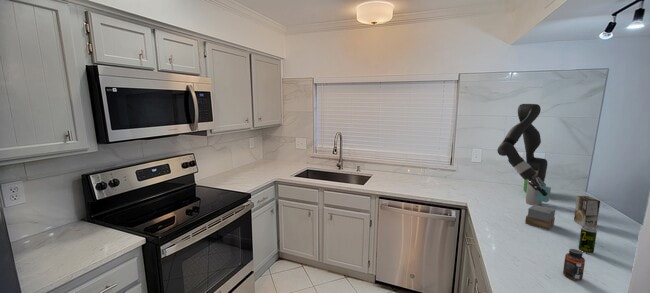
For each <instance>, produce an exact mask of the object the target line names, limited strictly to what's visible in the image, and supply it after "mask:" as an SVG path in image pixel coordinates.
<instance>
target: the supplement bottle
mask: <svg viewBox="0 0 650 293" xmlns="http://www.w3.org/2000/svg"><path fill="white" fill-rule="evenodd" d="M583 253H584V252H581V251H580V250H579V249H575V248H570V249H569V251H568V252H566V254H565V256H564V262H563V270H562V274H563V275H564V276H565V277H566V278H568V279H570V280H573V281H577V280H579V281H582V280H583V277H584V269H585V264H586V259H585V257H583Z"/></svg>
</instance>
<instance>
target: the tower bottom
mask: <svg viewBox="0 0 650 293" xmlns="http://www.w3.org/2000/svg"><path fill="white" fill-rule="evenodd" d="M555 219H556V218H555V216H554V218H553V219H552V220H551V221H550V222H547V221H543V220H539V219H535V218H532V217H528V214H527V215H525V221H524V224H525V225H527V226H528V225H529V226H533V227H536V228H538V229H543V230H546V231H550V229H551V228H553V227H554V226H555Z"/></svg>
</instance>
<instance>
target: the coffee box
mask: <svg viewBox="0 0 650 293" xmlns="http://www.w3.org/2000/svg"><path fill="white" fill-rule="evenodd" d="M600 205H601V200H599V199H596V198H593V197H592V196H589V195H588V196H587V195H581V196H580V195H576V201H575V209H574V217H573V222H575V223H577V224H579V225H580V226H581V227H582V226H591V227H594V228H596V229H597V227H598V220H599V213H600Z"/></svg>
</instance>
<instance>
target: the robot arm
mask: <svg viewBox="0 0 650 293" xmlns="http://www.w3.org/2000/svg"><path fill="white" fill-rule="evenodd" d="M540 113H541V106H540V105H539V104H537V103H520V104H519V105H518V107H517V117H518V120H519V123H517V124H516V125H514V126H512V127H511V128H510V129H509V131H508V132H507V134H506V135H505V137H504V139H503V140H502V142H501V143H500V144H499V146H498V147H497V154H498V155H499V156H502V157H505V156H506V157H507V159H508V160H507V161H508V163H509V165H511V166H512V167H513V168H514V169H515V171H516V173H517V174H518V175H519V176H520V177H521V179H523V180H526V179H528V184H527V193H525V194H526V195H525V203H526V204H528V205H532V206H533V205H538V206H542V205H543V204H542V203H543V202H542V201H537V200H536V195H537V190H538V191H539V192H540V193H541V194H542V195H543V196H546V195H548V194H547V193H546V192H545V191H544V190H543V188H542V187H541V186H546V187H547V184H546V183H545V180H546V177H547V176H546V175H547V169H548V160H547V159H546V158H542V157H541V158H540V157H535V152H536V150H537V149H538V148H539V147H540V145H541V143H542V140H541V139H542V138H541V134H540V131H539V130H538V129H537V128H536V127H535V126H534V125H533V122H534V121H536V120H537V118H538V117H539V115H540ZM521 137H522V139H523V143H524V149H525V160H524V158H523V157H522V156H521V155H520V154H519V152H518V150H517V149H516V147H515V145H516V143H518V141H519V140H520V138H521ZM536 171H538V173H537V172H536ZM550 194H551V191H550Z"/></svg>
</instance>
